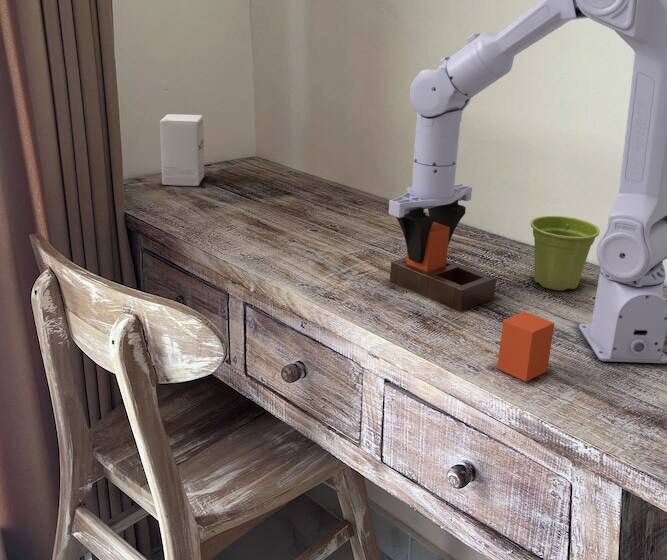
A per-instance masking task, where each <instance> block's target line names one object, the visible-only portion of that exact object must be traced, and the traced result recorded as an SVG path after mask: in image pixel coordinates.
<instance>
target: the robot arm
mask: <svg viewBox="0 0 667 560" xmlns="http://www.w3.org/2000/svg"><path fill="white" fill-rule="evenodd" d="M582 19H590V20H592V21H593V22H596V23H598V24H600V25H602V26H604V27H606V28H609V29H611V30H613V31H614V32H615V33H616V34H617V35H618V36H619V37H620V38H621V39H622V40H623V41H624V42H625V43H626V44H627V46H629V47H630V48H631V49H632V50H633V52H634V59H633V67H632V76H631V86H630V93H629V100H628V101H629V103H628V110H627V119H626V127H625V129H626V130H625V136H624V144H623V153H622V154H623V155H622V162H621V169H620V172H621V173H620V180H619V187H618V194H617V197H616V200H615V201H614V204H613V206H612V208H611V210H610V212H609V215H608V219H607V220H608V221H607V227H606V230H605V232H604V233H603V235H601V237H600V239H599V241H598V243H597V245H596V253H595V254H596V255H595V256H596V261H597V263H598V266H599V267H600V269H599V274H598V281H597V287H596V293H595V299H594V305H593V311H592V316H591V323H579V325H578V329H579V330H580V332H581V333H582V334H583V336H584V338H585V340H586V341H587V342H588V344H589V345H590V347H591V349H592V350H593V352H594V353H595V356H596V357H597V358H598V359H599V361H602V362H616V363H642V364H644V363H645V364H667V355H666V354H665V352H663V351H664V346H665V341H666V337H667V336H666V335H667V301H666V300H665V297H664V286H665V279H666V275H667V273H666V270H665V265H664V264H663V263H664V260H667V0H538V1H537V2H536V3H535V4H534V5H532V6H531V7H530V8H528V9H527V10H526V11H525V12H524V13H522V14H521V15H520V16H519V17H517V18H516V19H515V20H513V22H512V23H510V24H509V25H507V26H506V27H505V28H504V29H503V30H501V31H500V32H499V33H495V32H491V31H484V32H482V33H480V32H475V33H472V34H470V36H467V38H466V42H467V44H466V45H464V46H463V47H462V48H461V49H459V50H458V51H456V52H455V53H453V54H452V55H451V56H444V57H442V58H441V59H440V60H439V61H438V63H439V65H438V68H437V69H433V68H429V69H423V70H421V71H420V72H419V73H418V74H417V75H416V76H415V77H414V79H413V80H412V81H411V84H410V88H409V100H410V103H411V105H412V107H413V109H414V110H415V111H416V119H415V135H414V147H413V161H412V162H413V163H412V176H411V186H409V187H406V192H405V193H404V194H402V195H400V196H398V197H396V198H393V199H390V200H389V203H388V215H390V216H393V217H395V218H396V220H397V222H398V224H399V226H400V228H401V231H402V233H403V237H404V242H405V247H406V252H407V251H408V257H409V260H412V261H414V262H417V263H422V262H423V259H424V256H425V250H426V243H427V238H428V234H429V231H430V229H431V226H432V224H433V222H436V223H439V224H442V225H445V226H448V227H450V230H449V241H448V246H449V245H450V242H451V239H452V237H453V234H454V232H455V230H456V228H457V226H458V224H459V223H460V221H461V220H462V219H463V218H464V216H465V215H466V209H467V208H466V206H464V205H461V204H459V202H461V201H464V202H469V201H471V200H472V193H473V187H472V186H469V185H467V184H463V183H462V184H456V183H455V181H456V173H457V172H456V171H457V160H458V149H459V139H460V128H461V122H462V117H463V111H464V110H465V109H466V108H467V107H468V106H469V104H470V102H471V100H472V98H473V97H475V96H477V95H478V94H480V93H481V92H483V91H484V90H486V89H487V88H488V87H489V86H491V85H492V84H494V83H495V82H497V81H498V80H500V79H502V78H503V77H505V76H506V75H508V74H509V73H510V72H511V70H512V68H513V64H514V59H515V57H516V56H517V55H519V54H520V53H522V52H523V51H525V50H526V49H528V48H529V47H530V46H532V45H534V44H536V43H537V42H539V41H540V40H542V39H544V38H546V37H547V36H548V35H550V34H552V33H553V32H555V31H556V30H558V29H559V28H561V27H562V26H564V25H565V24H567V23H569V22H570V21H574V20H582ZM425 210H427V212H428V215H427V213H426V212H425Z"/></svg>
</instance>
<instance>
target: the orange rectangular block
mask: <svg viewBox="0 0 667 560" xmlns="http://www.w3.org/2000/svg"><path fill="white" fill-rule="evenodd" d="M554 329H555V322H552V321H550V320H548V319H545V318H543V317H540V316H537V315H535V314H532V313H530V312H527V311H523V312H519V313H517V314H514V315H512V316H510V317H507V318H505V319H503V320H502V326H501V334H500V342H499V350H498V359H497V365H496V369H498V370H500V371H501V372H504V373H506V374H508V375H510V376H512V377H515V378H516V379H519V380H521V381H523V382H526V383H527V382H529V381H531V380H533V379H534V378H535V379H536V378H537V377H539V376H541V375H543V374H545V373H547V372H548V370H549V369H548V368H549V361H550V357H551V356H550V355H551V348H552V343H553V336H554Z"/></svg>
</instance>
